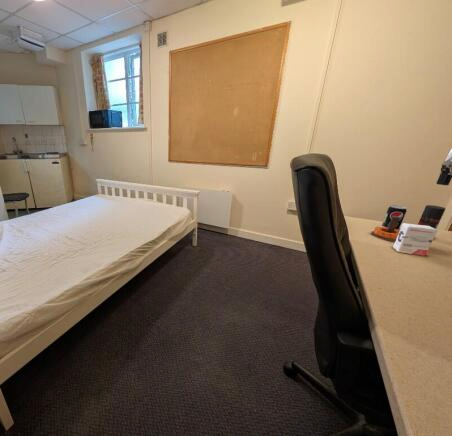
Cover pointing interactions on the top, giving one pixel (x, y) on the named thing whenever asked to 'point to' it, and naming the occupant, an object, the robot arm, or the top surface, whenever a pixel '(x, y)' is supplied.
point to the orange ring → (383, 232)
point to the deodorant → (431, 216)
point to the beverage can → (394, 211)
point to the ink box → (414, 239)
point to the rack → (389, 228)
